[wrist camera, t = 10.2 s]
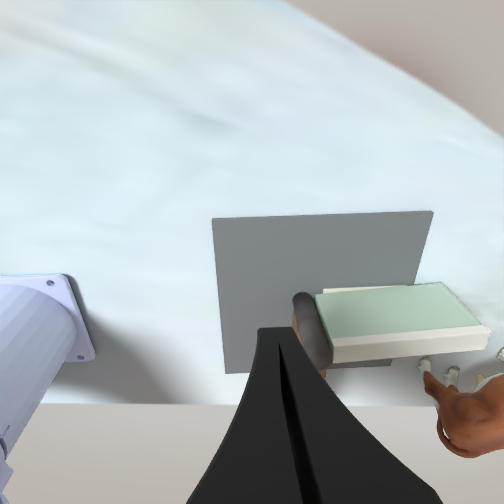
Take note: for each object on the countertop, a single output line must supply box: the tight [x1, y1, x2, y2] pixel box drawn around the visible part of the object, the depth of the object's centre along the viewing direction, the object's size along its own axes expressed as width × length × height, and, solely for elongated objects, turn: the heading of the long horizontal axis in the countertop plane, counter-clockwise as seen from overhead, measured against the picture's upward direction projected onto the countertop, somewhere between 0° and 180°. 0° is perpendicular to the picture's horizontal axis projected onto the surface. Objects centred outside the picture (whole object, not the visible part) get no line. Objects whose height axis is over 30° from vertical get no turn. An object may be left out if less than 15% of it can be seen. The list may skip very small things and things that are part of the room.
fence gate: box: [315, 283, 491, 363], centre depth 21 cm, size 9×1×5 cm, turn 95°
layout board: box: [212, 211, 434, 374], centre depth 23 cm, size 14×14×1 cm
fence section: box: [292, 292, 332, 380], centre depth 22 cm, size 1×9×6 cm, turn 1°
